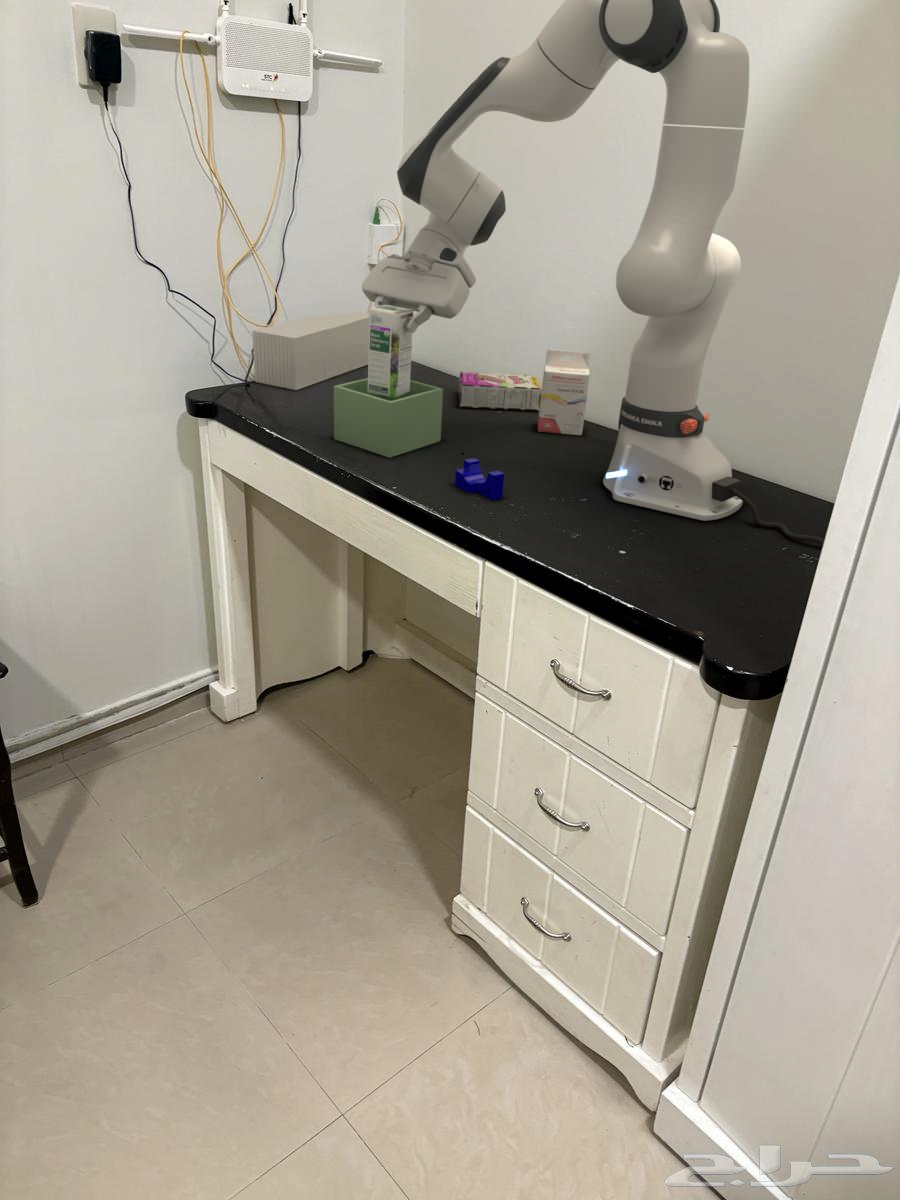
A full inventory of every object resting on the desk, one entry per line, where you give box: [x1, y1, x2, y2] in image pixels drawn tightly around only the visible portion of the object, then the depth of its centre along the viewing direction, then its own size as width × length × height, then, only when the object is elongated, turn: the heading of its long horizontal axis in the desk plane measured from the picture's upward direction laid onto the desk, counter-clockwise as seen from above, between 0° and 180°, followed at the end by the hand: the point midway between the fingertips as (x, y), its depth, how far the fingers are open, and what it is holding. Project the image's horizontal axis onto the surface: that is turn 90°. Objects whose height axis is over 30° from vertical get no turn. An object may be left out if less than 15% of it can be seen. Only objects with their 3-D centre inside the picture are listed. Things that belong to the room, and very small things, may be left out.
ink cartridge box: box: [537, 348, 591, 436], centre depth 175 cm, size 9×5×15 cm, turn 84°
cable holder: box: [454, 457, 505, 501], centre depth 146 cm, size 8×4×4 cm, turn 34°
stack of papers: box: [251, 311, 369, 391], centre depth 206 cm, size 32×11×11 cm
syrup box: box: [367, 305, 414, 398], centre depth 160 cm, size 6×6×14 cm
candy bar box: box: [458, 371, 542, 412], centre depth 192 cm, size 11×5×16 cm
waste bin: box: [333, 377, 444, 459], centre depth 165 cm, size 14×14×10 cm
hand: (391, 326), depth 159 cm, fingers closed on syrup box, 6 cm apart
